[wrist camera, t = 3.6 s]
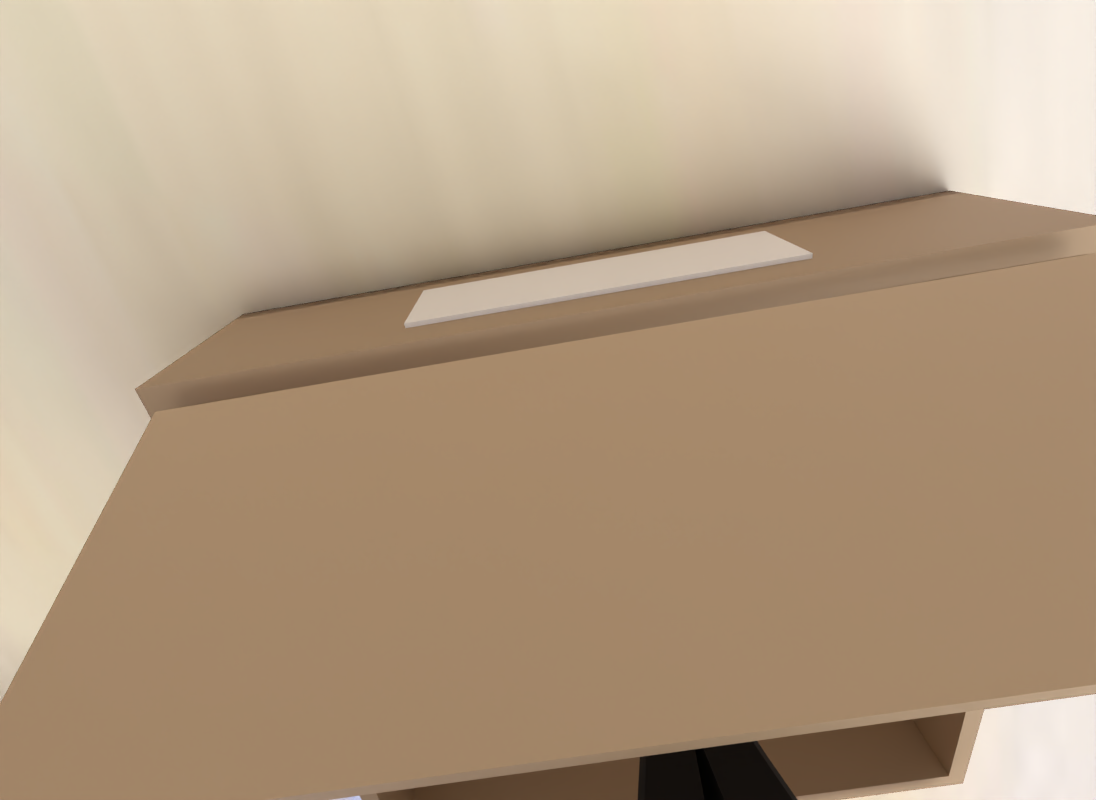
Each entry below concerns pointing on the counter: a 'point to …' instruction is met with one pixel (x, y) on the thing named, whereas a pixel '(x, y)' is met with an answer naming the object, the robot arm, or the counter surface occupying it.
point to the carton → (634, 304)
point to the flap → (586, 553)
